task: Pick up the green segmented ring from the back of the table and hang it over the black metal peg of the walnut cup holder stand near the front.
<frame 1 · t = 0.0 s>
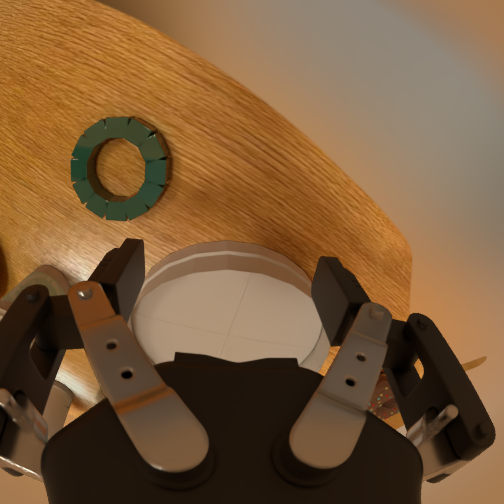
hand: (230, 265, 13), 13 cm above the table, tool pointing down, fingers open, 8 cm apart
travel mug: (59, 388, 38), on the table
green segmented ring: (121, 166, 23), on the table
coffee cup: (53, 284, 28), on the table
donut: (378, 387, 43), on the table
dish: (226, 325, 32), on the table
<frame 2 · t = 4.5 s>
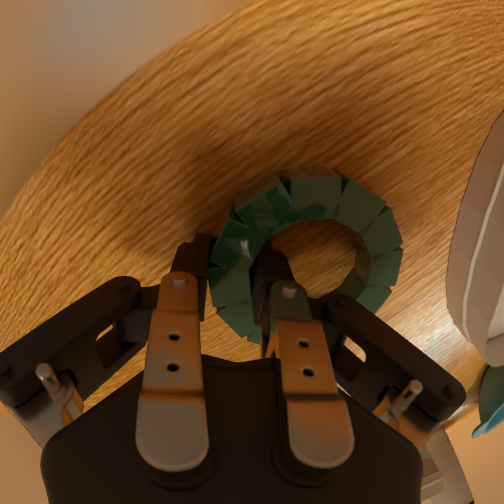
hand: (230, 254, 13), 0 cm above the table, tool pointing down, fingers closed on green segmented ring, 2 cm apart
travel mug: (426, 433, 32), on the table
green segmented ring: (304, 259, 14), on the table, touching gripper
coffee cup: (363, 403, 22), on the table
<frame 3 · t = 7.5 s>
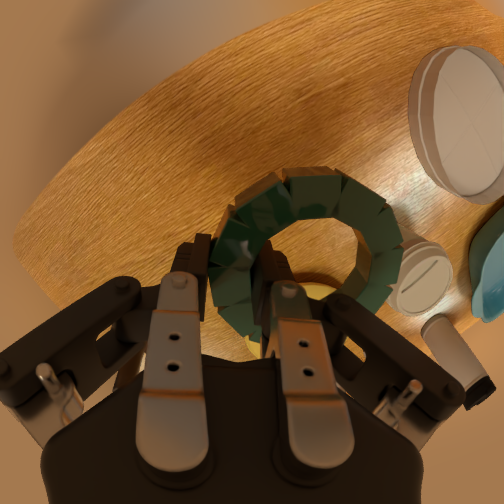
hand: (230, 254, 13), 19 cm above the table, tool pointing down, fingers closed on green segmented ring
travel mug: (433, 324, 45), on the table
green segmented ring: (305, 258, 14), point 19 cm above the table, touching gripper
coffee cup: (378, 236, 35), on the table
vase: (297, 316, 40), on the table
holder: (122, 394, 28), on the table
dish: (464, 121, 27), on the table
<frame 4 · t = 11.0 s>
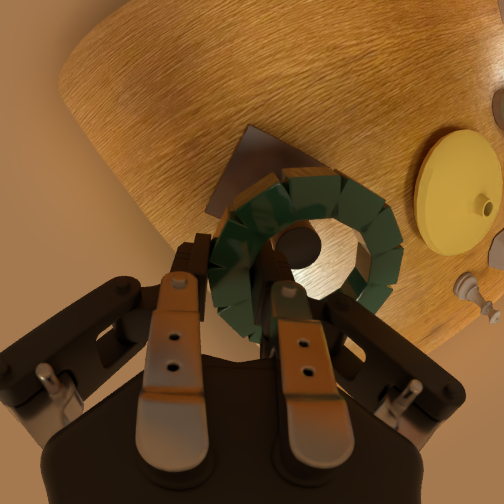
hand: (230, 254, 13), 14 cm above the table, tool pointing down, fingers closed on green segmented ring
chess piece: (462, 282, 35), on the table
green segmented ring: (304, 259, 14), point 14 cm above the table, touching gripper
coffee cup: (501, 109, 22), on the table
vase: (449, 187, 28), on the table
flask: (498, 247, 33), on the table
holder: (298, 249, 15), on the table
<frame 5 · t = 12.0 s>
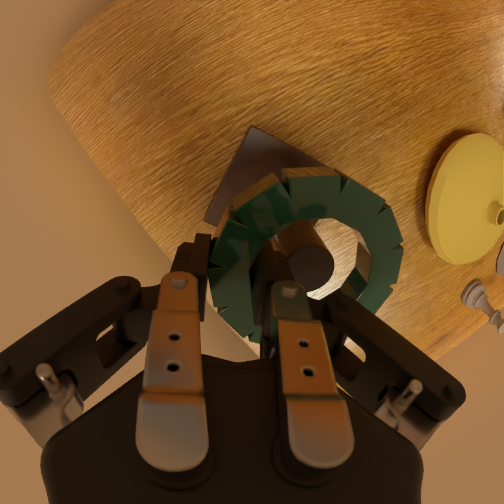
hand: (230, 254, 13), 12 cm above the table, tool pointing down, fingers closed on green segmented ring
chess piece: (470, 290, 34), on the table
green segmented ring: (304, 258, 14), point 12 cm above the table, touching gripper
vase: (460, 193, 26), on the table
holder: (309, 270, 13), on the table
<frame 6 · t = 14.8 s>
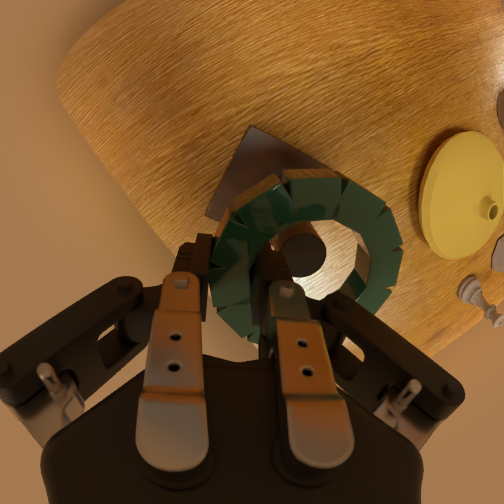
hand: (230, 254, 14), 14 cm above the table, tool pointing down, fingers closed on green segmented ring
chess piece: (465, 285, 35), on the table
green segmented ring: (304, 260, 14), point 13 cm above the table, touching gripper
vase: (454, 190, 27), on the table
flask: (502, 249, 32), on the table
holder: (302, 256, 14), on the table
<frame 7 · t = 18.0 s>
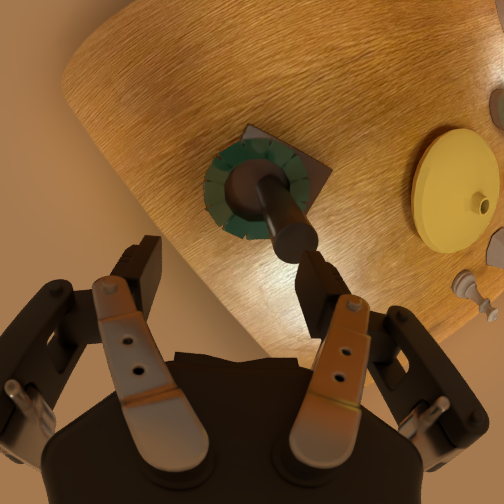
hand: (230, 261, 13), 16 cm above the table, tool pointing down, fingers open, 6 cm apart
chess piece: (460, 280, 36), on the table
green segmented ring: (255, 186, 26), point 1 cm above the table, touching holder
coffee cup: (499, 109, 23), on the table
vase: (446, 186, 28), on the table
flask: (496, 245, 34), on the table
holder: (296, 244, 16), on the table
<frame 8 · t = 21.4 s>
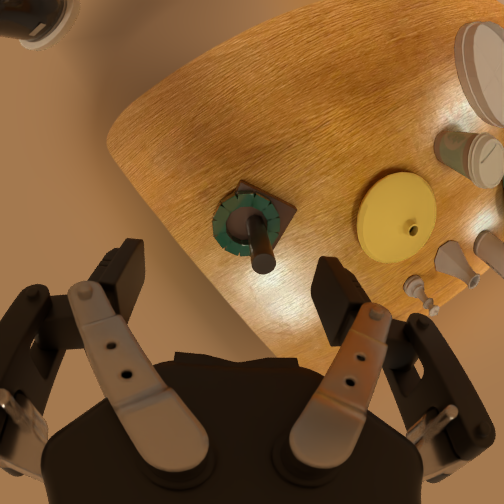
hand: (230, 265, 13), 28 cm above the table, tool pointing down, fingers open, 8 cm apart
chess piece: (411, 283, 51), on the table
travel mug: (481, 241, 48), on the table
green segmented ring: (245, 221, 40), point 1 cm above the table, touching holder
coffee cup: (444, 146, 38), on the table
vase: (390, 213, 43), on the table
flask: (445, 255, 48), on the table
holder: (263, 264, 30), on the table
dish: (489, 73, 30), on the table
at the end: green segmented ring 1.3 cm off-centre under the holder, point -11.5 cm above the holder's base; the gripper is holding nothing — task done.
